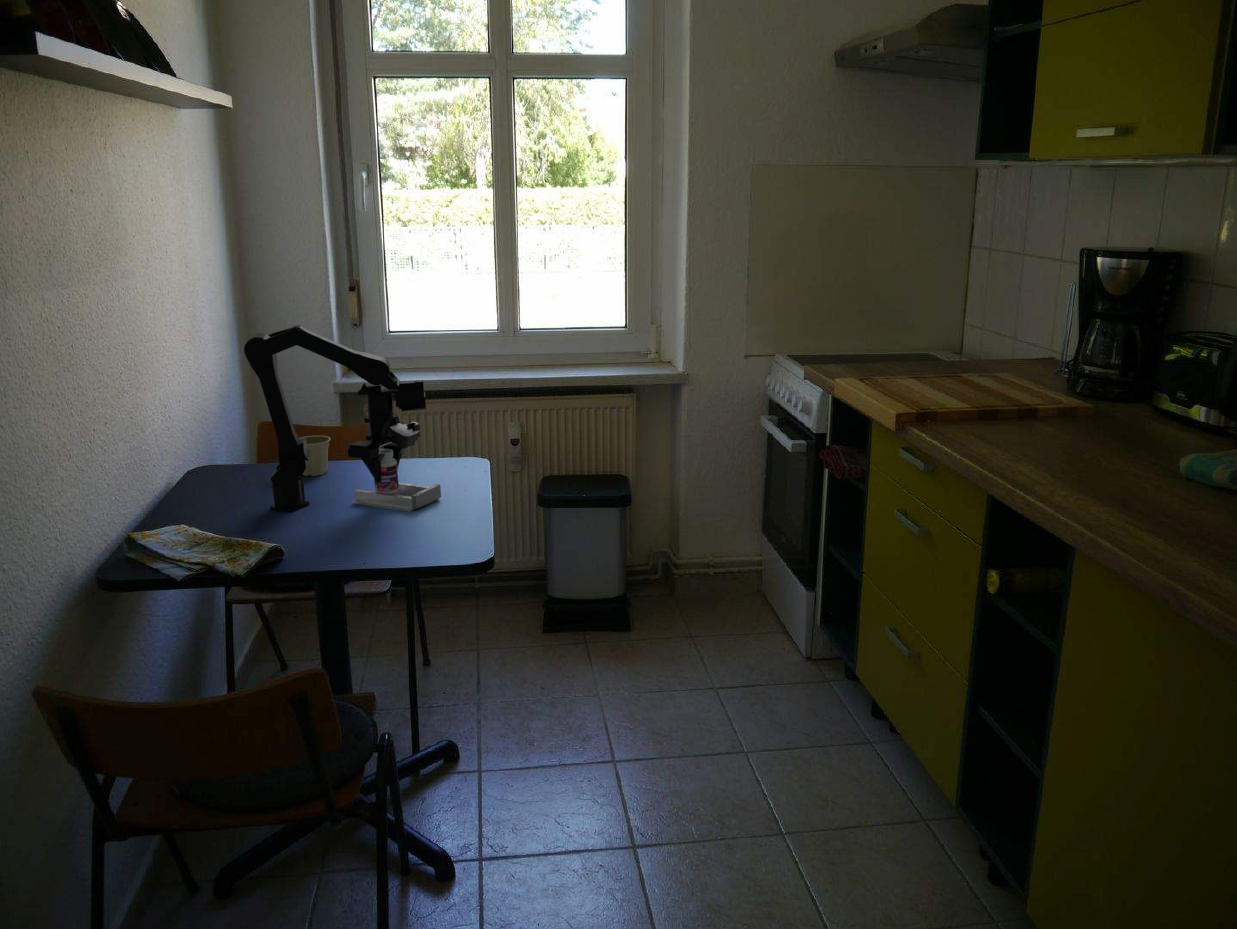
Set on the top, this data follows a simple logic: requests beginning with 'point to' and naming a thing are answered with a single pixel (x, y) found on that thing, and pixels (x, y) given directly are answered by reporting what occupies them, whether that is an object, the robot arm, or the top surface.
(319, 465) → the flower pot
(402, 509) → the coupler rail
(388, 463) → the pill bottle
